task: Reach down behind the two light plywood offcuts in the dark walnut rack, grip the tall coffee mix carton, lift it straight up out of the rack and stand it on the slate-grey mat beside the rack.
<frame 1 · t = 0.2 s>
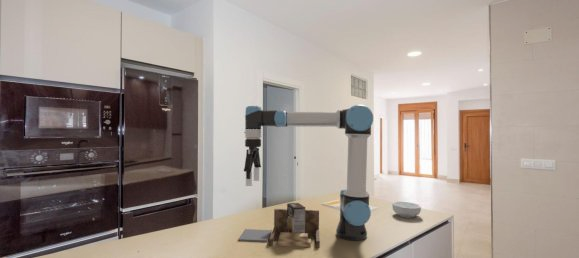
hand: (252, 183, 137), 28 cm above the counter, tool pointing down, fingers open, 13 cm apart
slate mat: (255, 236, 143), on the counter
upper offcut: (293, 239, 134), point 2 cm above the counter, touching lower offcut
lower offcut: (294, 245, 133), on the counter, touching upper offcut
walnut rack: (295, 239, 139), on the counter
cereal bowl: (406, 216, 180), on the counter
coffee box: (295, 238, 141), on the counter
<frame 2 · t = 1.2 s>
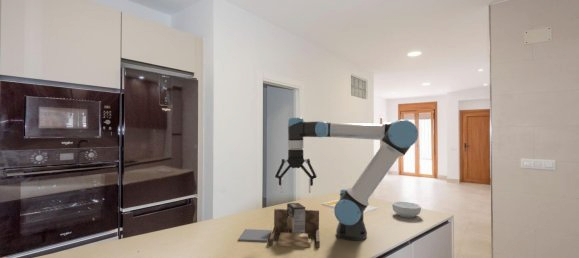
hand: (295, 192, 141), 22 cm above the counter, tool pointing down, fingers open, 13 cm apart
nothing on the counter moved.
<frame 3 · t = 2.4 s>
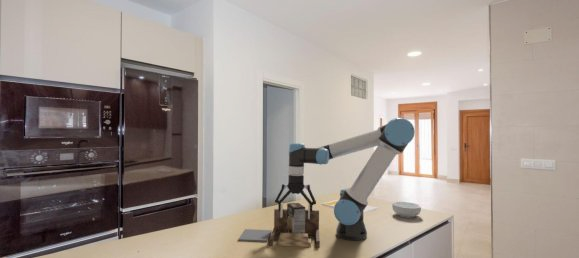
hand: (295, 217, 142), 10 cm above the counter, tool pointing down, fingers open, 13 cm apart
nothing on the counter moved.
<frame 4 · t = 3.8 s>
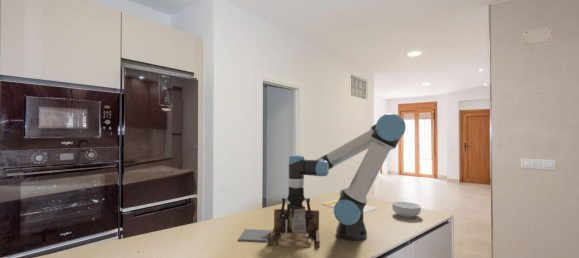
hand: (295, 232, 141), 3 cm above the counter, tool pointing down, fingers closed on coffee box, 8 cm apart
coffee box: (295, 238, 141), on the counter, touching gripper
everything else where it was.
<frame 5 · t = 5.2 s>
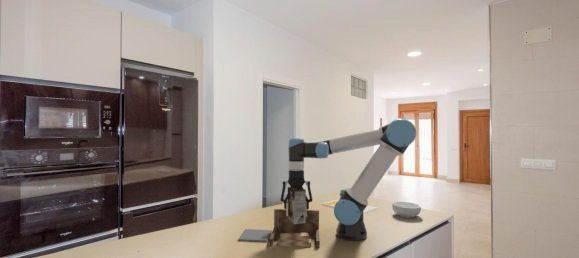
hand: (296, 215, 141), 11 cm above the counter, tool pointing down, fingers closed on coffee box, 8 cm apart
coffee box: (296, 221, 141), point 8 cm above the counter, touching gripper
everything else where it was.
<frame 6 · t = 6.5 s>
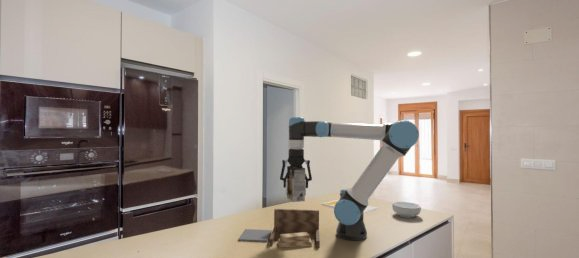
hand: (295, 194, 142), 21 cm above the counter, tool pointing down, fingers closed on coffee box, 8 cm apart
coffee box: (295, 200, 142), point 19 cm above the counter, touching gripper
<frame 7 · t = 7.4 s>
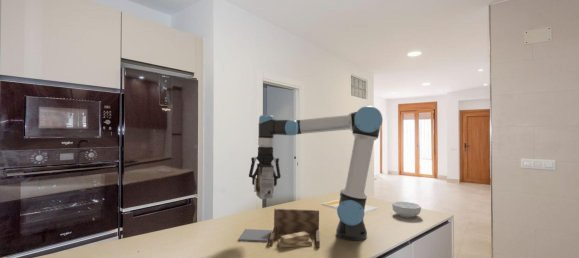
hand: (264, 191, 143), 22 cm above the counter, tool pointing down, fingers closed on coffee box, 8 cm apart
coffee box: (264, 197, 143), point 19 cm above the counter, touching gripper
when the fingers open (5 cm above the counter, at t = 11.4 s): coffee box drops 1 cm, resting on slate mat.
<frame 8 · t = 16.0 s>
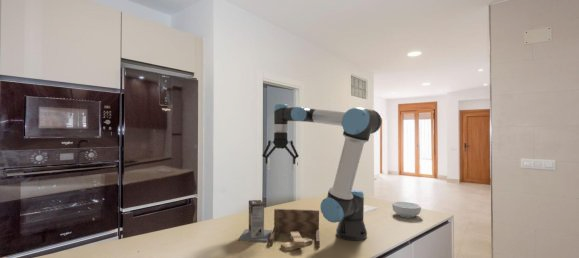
hand: (280, 169, 161), 31 cm above the counter, tool pointing down, fingers open, 13 cm apart
upper offcut: (296, 241, 132), point 2 cm above the counter, touching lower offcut
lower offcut: (296, 247, 132), on the counter, touching upper offcut
coffee box: (255, 234, 143), point 1 cm above the counter, touching slate mat
everything else where it was.
at the end: coffee box inside the target area (0.2 cm from its centre), point 0.6 cm above the counter; coffee box tilted 0°; the gripper is holding nothing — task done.
